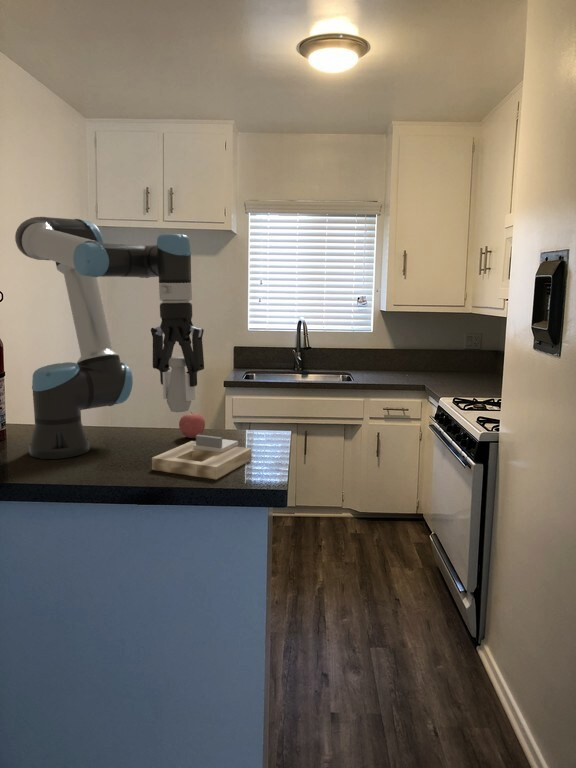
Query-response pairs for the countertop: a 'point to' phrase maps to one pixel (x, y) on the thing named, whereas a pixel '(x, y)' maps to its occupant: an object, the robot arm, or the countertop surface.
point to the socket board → (200, 461)
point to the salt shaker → (177, 386)
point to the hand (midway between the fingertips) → (179, 398)
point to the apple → (192, 425)
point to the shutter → (213, 443)
